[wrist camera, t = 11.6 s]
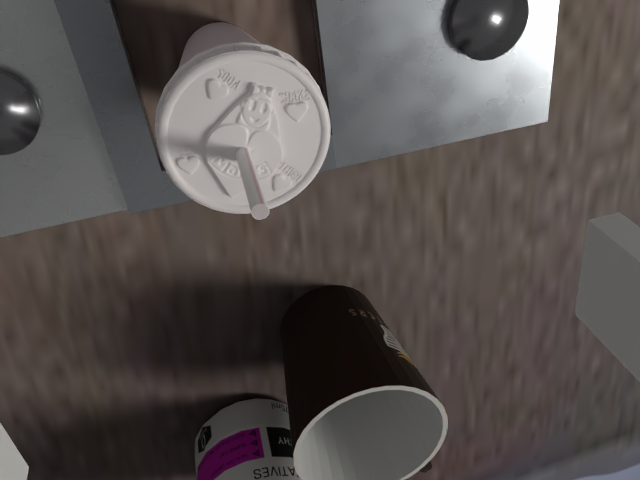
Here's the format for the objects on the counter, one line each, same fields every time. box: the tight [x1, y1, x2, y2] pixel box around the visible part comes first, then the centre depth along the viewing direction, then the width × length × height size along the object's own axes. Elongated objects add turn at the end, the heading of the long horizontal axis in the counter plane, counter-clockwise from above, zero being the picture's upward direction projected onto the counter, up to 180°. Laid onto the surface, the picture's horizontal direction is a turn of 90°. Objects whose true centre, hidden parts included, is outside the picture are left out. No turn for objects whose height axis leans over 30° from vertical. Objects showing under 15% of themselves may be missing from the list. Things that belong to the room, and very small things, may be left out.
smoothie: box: [155, 22, 331, 220], centre depth 24 cm, size 6×6×14 cm
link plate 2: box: [54, 0, 559, 214], centre depth 30 cm, size 24×13×2 cm, turn 97°
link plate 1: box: [0, 0, 326, 237], centre depth 29 cm, size 22×13×1 cm, turn 97°
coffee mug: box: [281, 286, 448, 480], centre depth 37 cm, size 12×9×10 cm
